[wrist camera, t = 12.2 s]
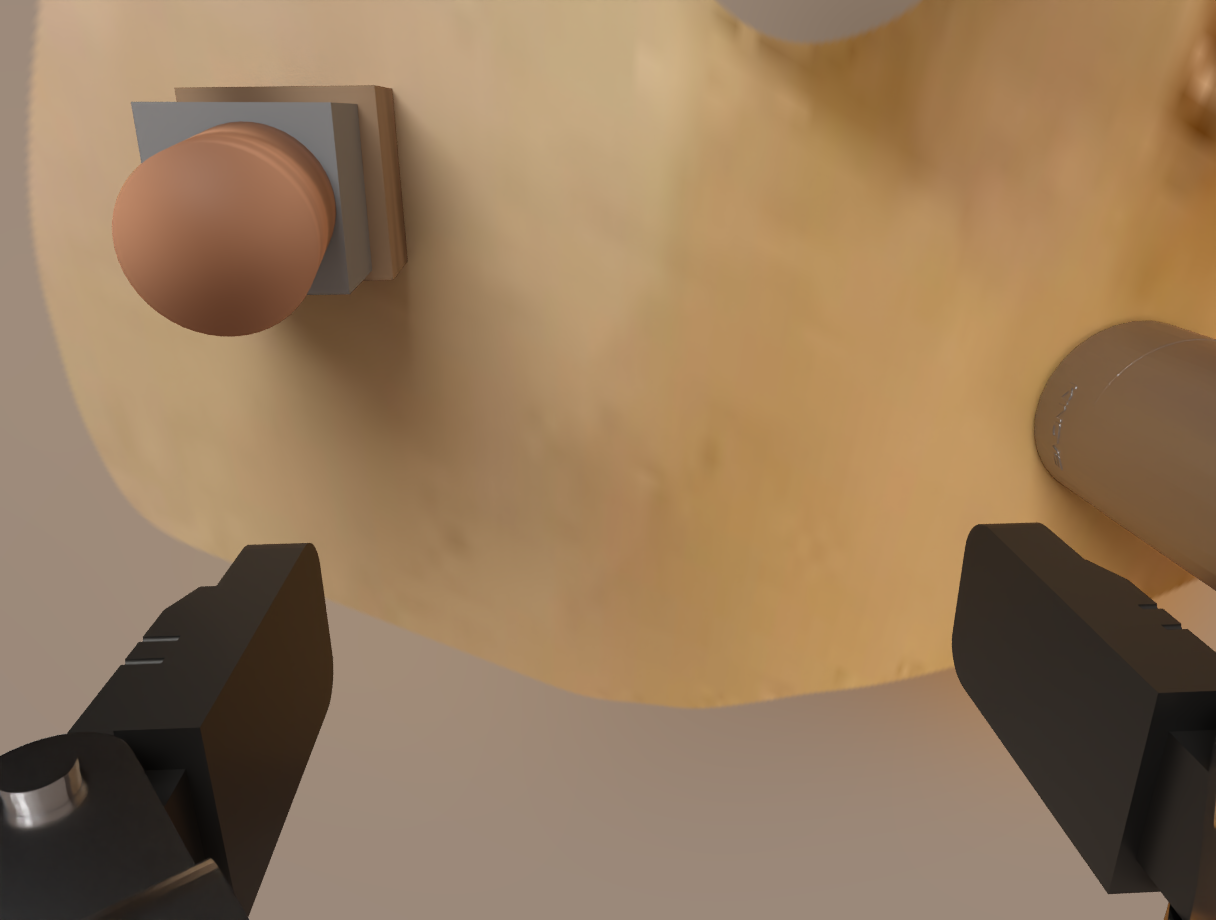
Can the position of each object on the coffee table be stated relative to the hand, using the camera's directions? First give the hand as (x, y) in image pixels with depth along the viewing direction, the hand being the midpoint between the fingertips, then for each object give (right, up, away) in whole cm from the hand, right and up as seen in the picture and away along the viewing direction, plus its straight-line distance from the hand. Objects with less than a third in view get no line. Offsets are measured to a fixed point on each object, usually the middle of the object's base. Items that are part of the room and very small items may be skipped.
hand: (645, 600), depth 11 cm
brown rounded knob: (-12, +10, +18) cm, 23 cm away
